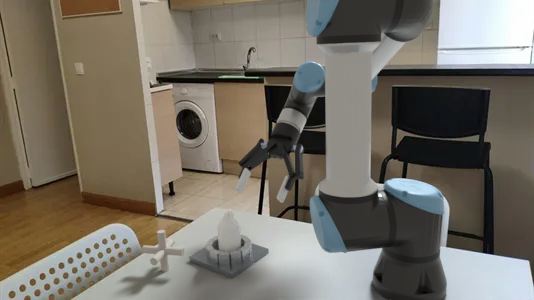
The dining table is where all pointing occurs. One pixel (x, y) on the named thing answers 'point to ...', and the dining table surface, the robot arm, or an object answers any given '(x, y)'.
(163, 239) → the pipe connector
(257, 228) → the dining table surface
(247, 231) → the dining table surface
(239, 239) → the white faceted pointed piece
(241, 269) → the collar
